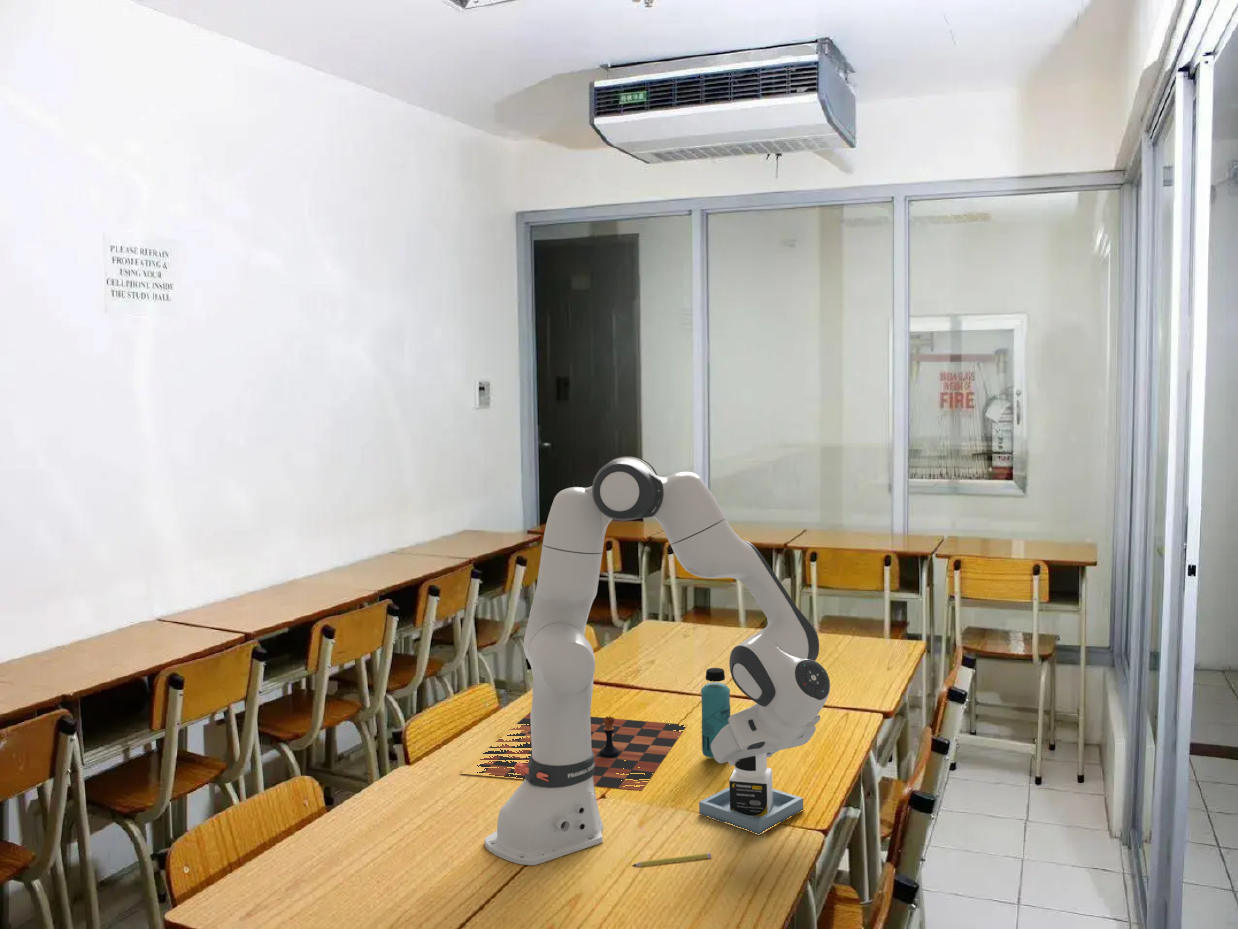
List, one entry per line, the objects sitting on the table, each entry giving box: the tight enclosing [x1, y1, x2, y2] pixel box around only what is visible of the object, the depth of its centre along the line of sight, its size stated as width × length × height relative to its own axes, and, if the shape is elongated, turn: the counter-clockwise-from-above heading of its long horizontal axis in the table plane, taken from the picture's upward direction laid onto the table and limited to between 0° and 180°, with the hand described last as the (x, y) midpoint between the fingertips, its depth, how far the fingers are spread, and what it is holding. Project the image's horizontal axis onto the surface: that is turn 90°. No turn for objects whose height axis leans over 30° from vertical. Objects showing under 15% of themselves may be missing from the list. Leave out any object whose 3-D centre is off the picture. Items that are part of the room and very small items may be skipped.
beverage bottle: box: [700, 667, 732, 759], centre depth 226 cm, size 6×7×20 cm
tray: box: [698, 786, 804, 834], centre depth 199 cm, size 14×14×2 cm
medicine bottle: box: [728, 753, 773, 818], centre depth 199 cm, size 7×7×12 cm
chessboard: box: [477, 711, 687, 792], centre depth 236 cm, size 40×40×11 cm
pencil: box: [631, 852, 712, 867], centre depth 180 cm, size 1×14×1 cm, turn 101°
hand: (748, 758), depth 199 cm, fingers closed on medicine bottle, 6 cm apart
